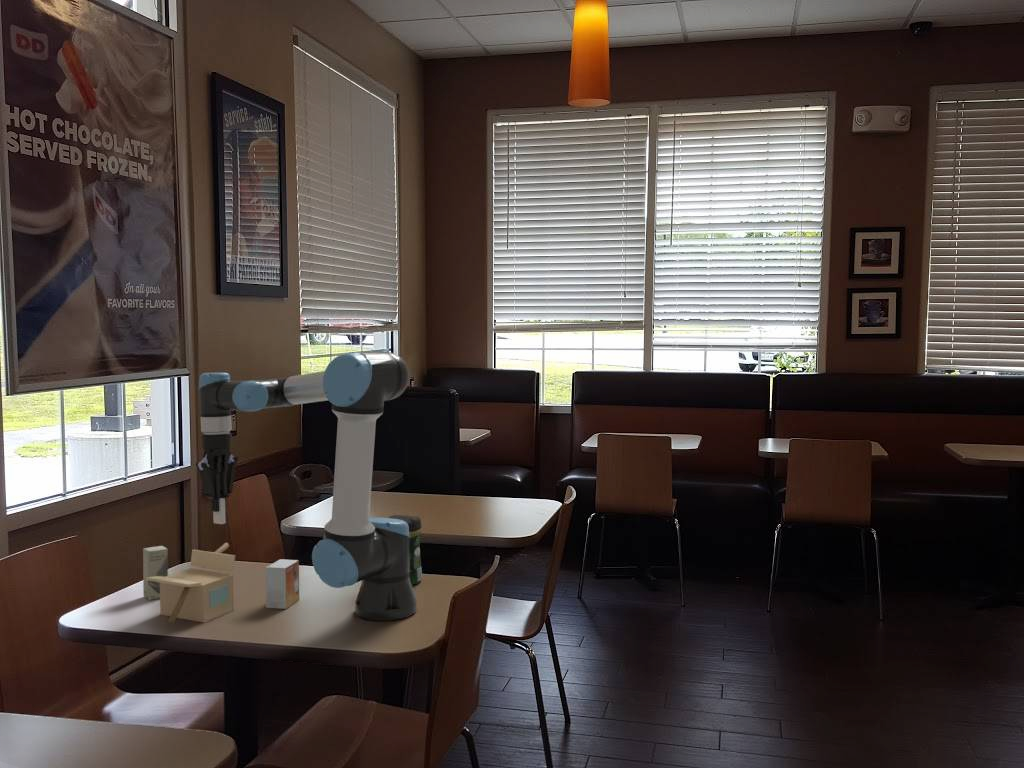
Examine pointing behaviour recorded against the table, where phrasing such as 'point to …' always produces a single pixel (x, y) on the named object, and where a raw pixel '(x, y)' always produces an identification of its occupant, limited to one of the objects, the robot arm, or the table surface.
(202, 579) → the carton
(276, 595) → the small box
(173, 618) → the left flap
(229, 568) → the right flap
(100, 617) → the table surface
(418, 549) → the coffee jar
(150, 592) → the box
